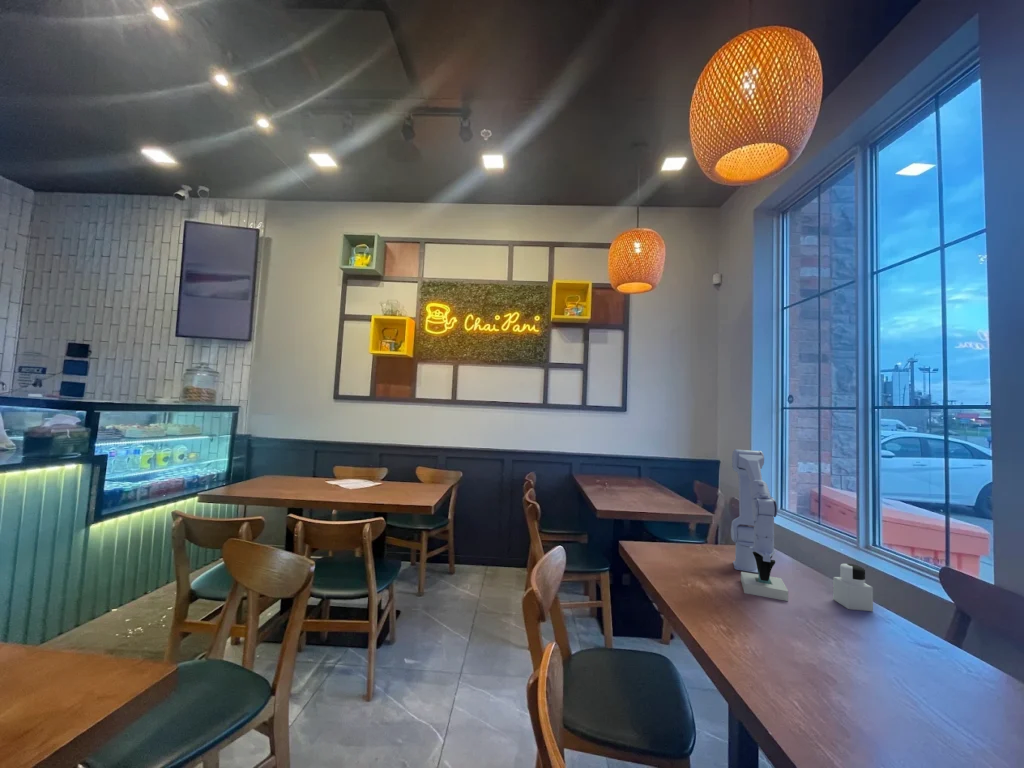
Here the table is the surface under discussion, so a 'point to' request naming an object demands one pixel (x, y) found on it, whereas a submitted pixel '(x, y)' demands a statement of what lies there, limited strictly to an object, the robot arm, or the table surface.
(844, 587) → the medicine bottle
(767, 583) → the peg
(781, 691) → the table surface
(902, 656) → the table surface
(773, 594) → the socket slab
